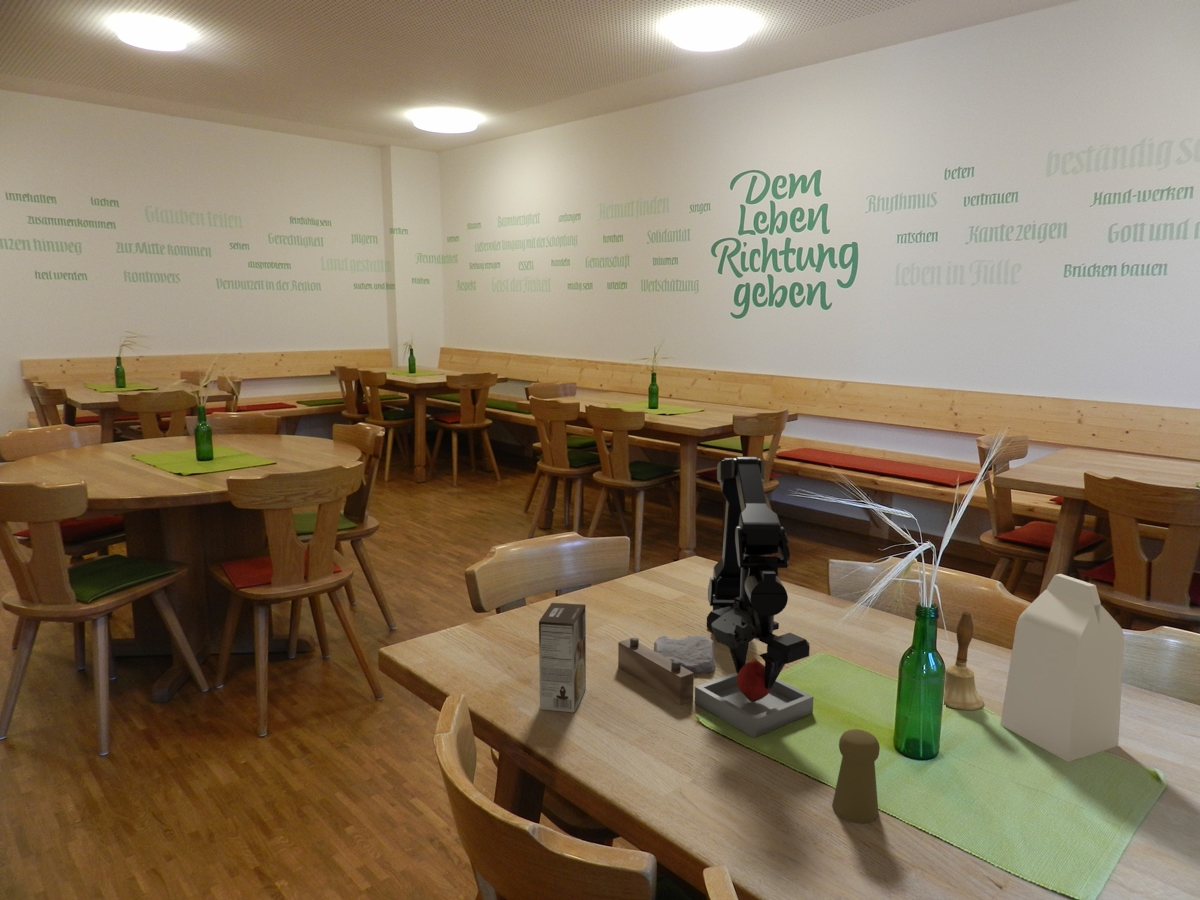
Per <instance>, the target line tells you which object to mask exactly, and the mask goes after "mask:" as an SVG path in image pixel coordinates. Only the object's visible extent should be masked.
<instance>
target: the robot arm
mask: <svg viewBox="0 0 1200 900" xmlns="http://www.w3.org/2000/svg"><path fill="white" fill-rule="evenodd" d="M716 480H717V482H719V485H720V489H721V494H722V496H723V497H724V498H725V500H726V501H725V512H724V513H725V514H724V529H723V541H722V555H721V558H720V560H718V562H717V563H716V564H715V565H714V566H713V571H712V577H709V582H708V586H707V600H708V604H709V606H710V607H712V610H711V611H709V612H708V613H709V614H708V615H707V616H706V629H707V630H709V631H711V632H712V633H713V636H714V640H715V642H716V643H719V644H722V645H724V646H726V647H727V648H728V649H729V652H730V655H731V658H732V661H733V665H734V668H735V671H736V672H737V674H738V673H739V671H740V669H741V668H742V667H743V666H744V665H745V664H747V663H746V662H747V657H748V651H749V647H750V642H752V641H753V640H756V641H759V642H761V643H763V644H766V652H764V653H761V654H759V656H760V657H761V659H762V660H763V661H764V666H765V688H766V689H770V688H772V686H773V684H774V683H775V681H776V679H778V677H779V675H780V673H781V672H782V671H783V668H784V667H785V665H787V664H788V665H789V664H790V663H794V662H797V661H799V660H803V659H804V658H807V657H810V649H811V648H810V642H809V641H808V640H807V639H806V638H803V637H801V636H799V635H796V634H794V633H792V632H787V633H785V634H781V635H777V634H775V633H774V631H777V630H778V629H780V623H779V622H777V621H775V616H776V615H778V614H780V613H781V612H783V611H784V610H785V608H786V607H787V604H788V601H789V600H788V599H789V598H788V596H789V595H788V592H787V590H786V587H785V586H784V584H783V583H782V581H781V578H780V577H779V569H788V566H789V565H788V564H789V563H788V562H789V561H790V559H791V554H790V553H791V552H790V545H789V540H788V534H787V533H786V530H785V528H784V527H783V526H781V523H780V519H779V517H778V514H777V513H776V512H775V511H773V510H772V509H770V508H769V505H768V502H767V496H766V492H765V488H764V484H763V482H764V481H765V461H764V460H761V458H758V457H757V456H736V457H724V458H723V460H721V461H719V462H718V463H717V465H716ZM778 554H779V556H776V555H778ZM773 555H774V556H773ZM736 672H735V673H736Z"/></svg>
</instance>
